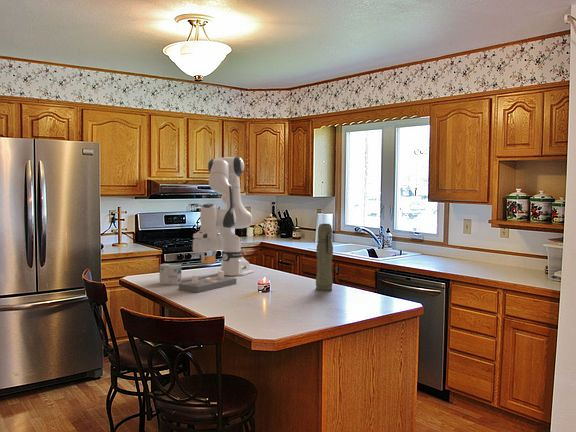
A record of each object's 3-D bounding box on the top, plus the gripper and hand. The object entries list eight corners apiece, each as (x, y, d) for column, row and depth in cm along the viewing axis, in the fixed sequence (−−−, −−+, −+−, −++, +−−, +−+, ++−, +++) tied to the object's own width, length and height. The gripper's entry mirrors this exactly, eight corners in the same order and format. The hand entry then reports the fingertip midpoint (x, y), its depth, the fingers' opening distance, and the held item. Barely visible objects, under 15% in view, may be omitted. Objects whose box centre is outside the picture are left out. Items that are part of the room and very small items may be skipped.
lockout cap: (208, 261, 286) (208, 255, 286) (215, 262, 283) (215, 256, 283) (201, 262, 282) (201, 256, 282) (208, 263, 279) (208, 257, 279)
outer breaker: (195, 283, 277) (195, 275, 276) (198, 284, 275) (198, 276, 275) (191, 284, 275) (191, 276, 275) (195, 284, 273) (195, 276, 273)
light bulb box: (181, 282, 293) (181, 263, 292) (178, 285, 286) (178, 265, 286) (163, 282, 294) (163, 263, 294) (159, 284, 288) (159, 264, 287)
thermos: (323, 292, 273) (324, 225, 270) (311, 288, 283) (312, 223, 280) (337, 290, 277) (338, 224, 275) (324, 286, 287) (325, 222, 285)
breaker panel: (217, 280, 300) (217, 275, 299) (236, 283, 292) (236, 278, 291) (178, 289, 275) (178, 283, 275) (197, 292, 267) (197, 286, 267)
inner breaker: (220, 278, 293) (220, 270, 293) (224, 278, 292) (224, 271, 291) (217, 278, 291) (217, 271, 291) (221, 279, 290) (221, 271, 289)
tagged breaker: (208, 285, 285) (208, 277, 285) (211, 286, 284) (211, 278, 283) (205, 286, 283) (205, 278, 283) (208, 286, 282) (208, 278, 281)
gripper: (217, 232, 292) (217, 257, 293) (190, 235, 275) (190, 261, 276) (225, 233, 288) (225, 258, 289) (199, 235, 272) (199, 262, 272)
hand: (208, 259), depth 282 cm, fingers closed on lockout cap, 5 cm apart
